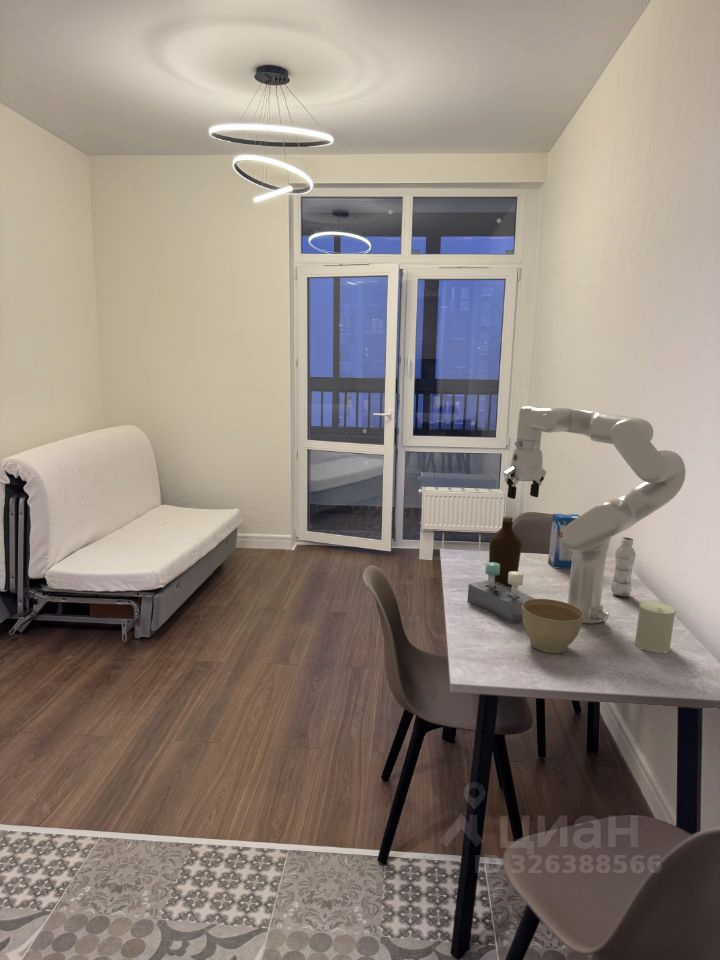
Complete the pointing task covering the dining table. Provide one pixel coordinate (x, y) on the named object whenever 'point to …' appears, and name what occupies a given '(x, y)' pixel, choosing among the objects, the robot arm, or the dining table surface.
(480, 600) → the mount block
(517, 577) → the cream knob
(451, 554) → the dining table surface
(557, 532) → the milk carton
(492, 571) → the teal knob
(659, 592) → the dining table surface
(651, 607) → the can
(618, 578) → the plastic bottle
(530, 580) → the dining table surface
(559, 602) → the planter bowl
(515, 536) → the olive oil
